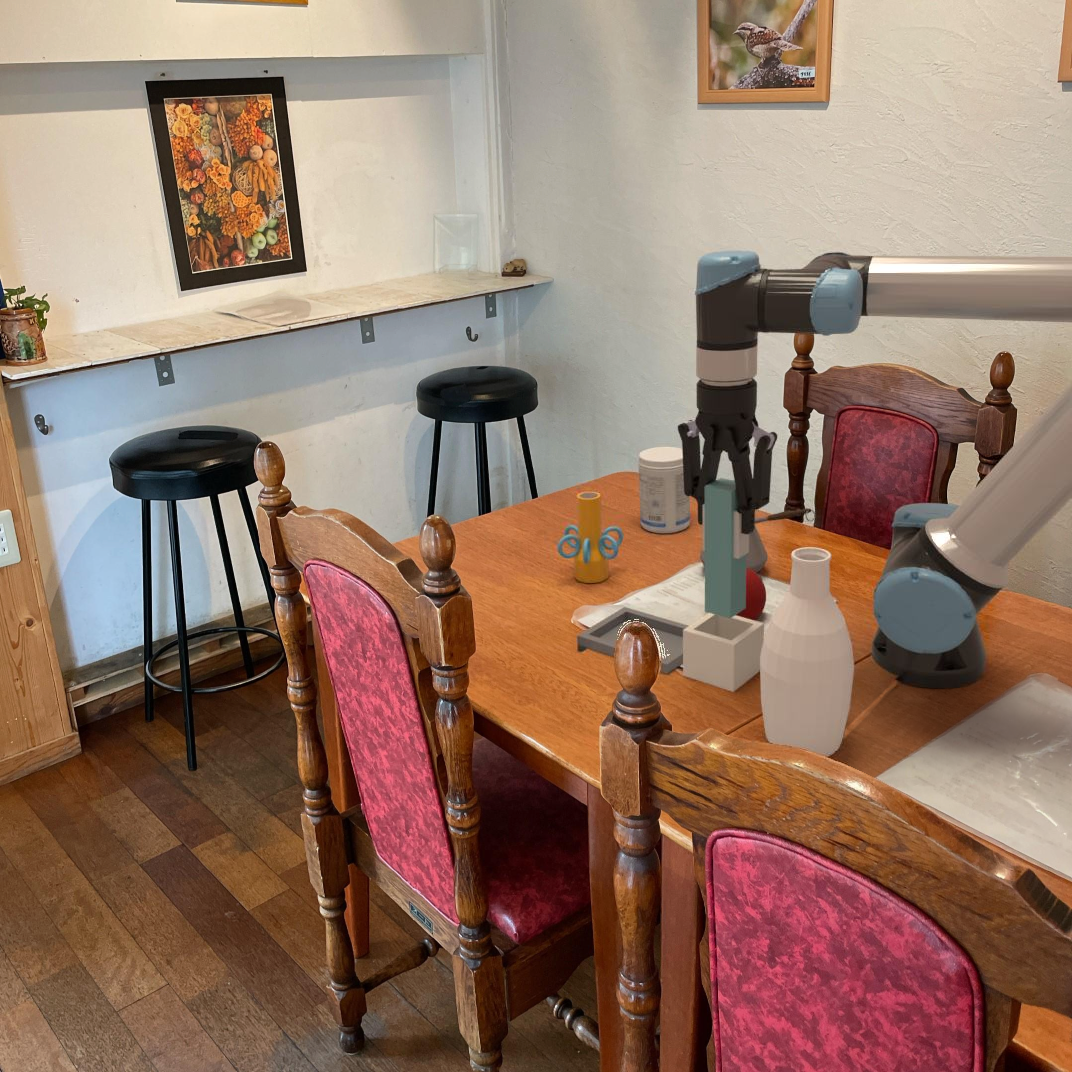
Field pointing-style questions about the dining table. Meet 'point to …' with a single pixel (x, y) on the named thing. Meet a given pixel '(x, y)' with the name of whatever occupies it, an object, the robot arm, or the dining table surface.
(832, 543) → the dining table surface
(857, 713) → the dining table surface
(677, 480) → the supplement tub
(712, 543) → the peg
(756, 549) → the coffee pot
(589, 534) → the yellow ringed vase
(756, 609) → the apple
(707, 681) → the white open box
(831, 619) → the bottle
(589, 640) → the tray
